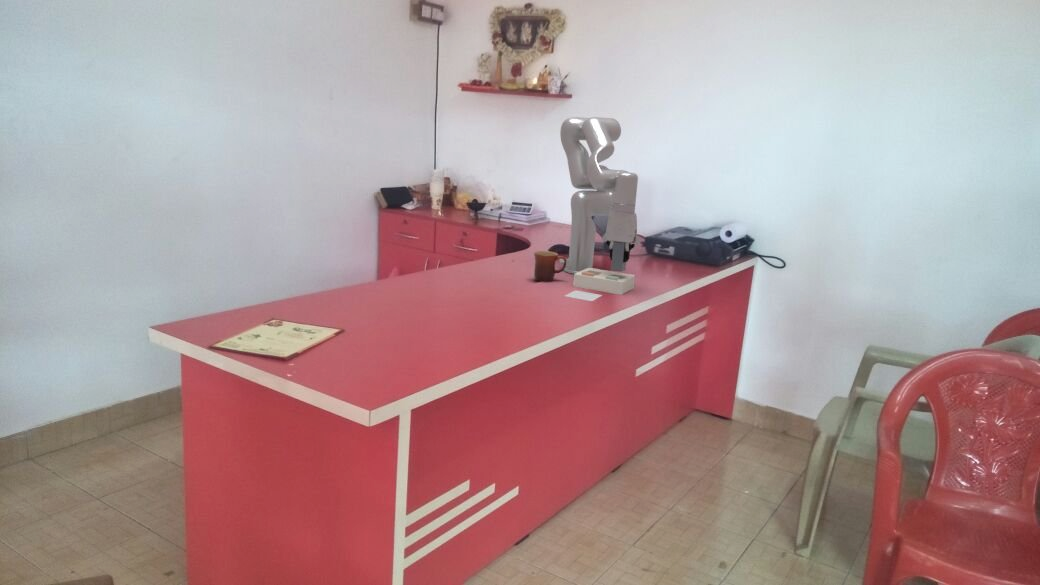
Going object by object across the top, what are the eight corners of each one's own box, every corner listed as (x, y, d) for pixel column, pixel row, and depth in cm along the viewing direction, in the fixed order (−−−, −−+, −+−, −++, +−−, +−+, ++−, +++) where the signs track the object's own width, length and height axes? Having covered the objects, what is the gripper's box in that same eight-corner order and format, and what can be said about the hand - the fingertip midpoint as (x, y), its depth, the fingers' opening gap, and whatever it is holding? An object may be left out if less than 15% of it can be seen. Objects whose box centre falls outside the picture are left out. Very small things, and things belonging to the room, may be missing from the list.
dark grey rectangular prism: (610, 270, 249) (613, 241, 247) (614, 268, 252) (617, 240, 250) (621, 271, 247) (624, 243, 245) (625, 269, 251) (628, 241, 248)
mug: (530, 282, 255) (532, 254, 253) (532, 277, 264) (534, 250, 261) (564, 285, 254) (566, 257, 252) (565, 280, 263) (567, 252, 260)
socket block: (572, 287, 252) (574, 271, 250) (587, 280, 264) (588, 265, 262) (621, 296, 244) (622, 280, 243) (633, 288, 256) (635, 273, 255)
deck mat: (563, 297, 237) (563, 296, 237) (575, 291, 246) (575, 290, 246) (591, 303, 233) (591, 301, 233) (602, 296, 242) (602, 295, 242)
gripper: (597, 207, 245) (592, 259, 249) (644, 212, 238) (638, 265, 242) (604, 205, 252) (600, 256, 256) (650, 210, 244) (645, 262, 249)
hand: (619, 260), depth 249 cm, fingers closed on dark grey rectangular prism, 4 cm apart
